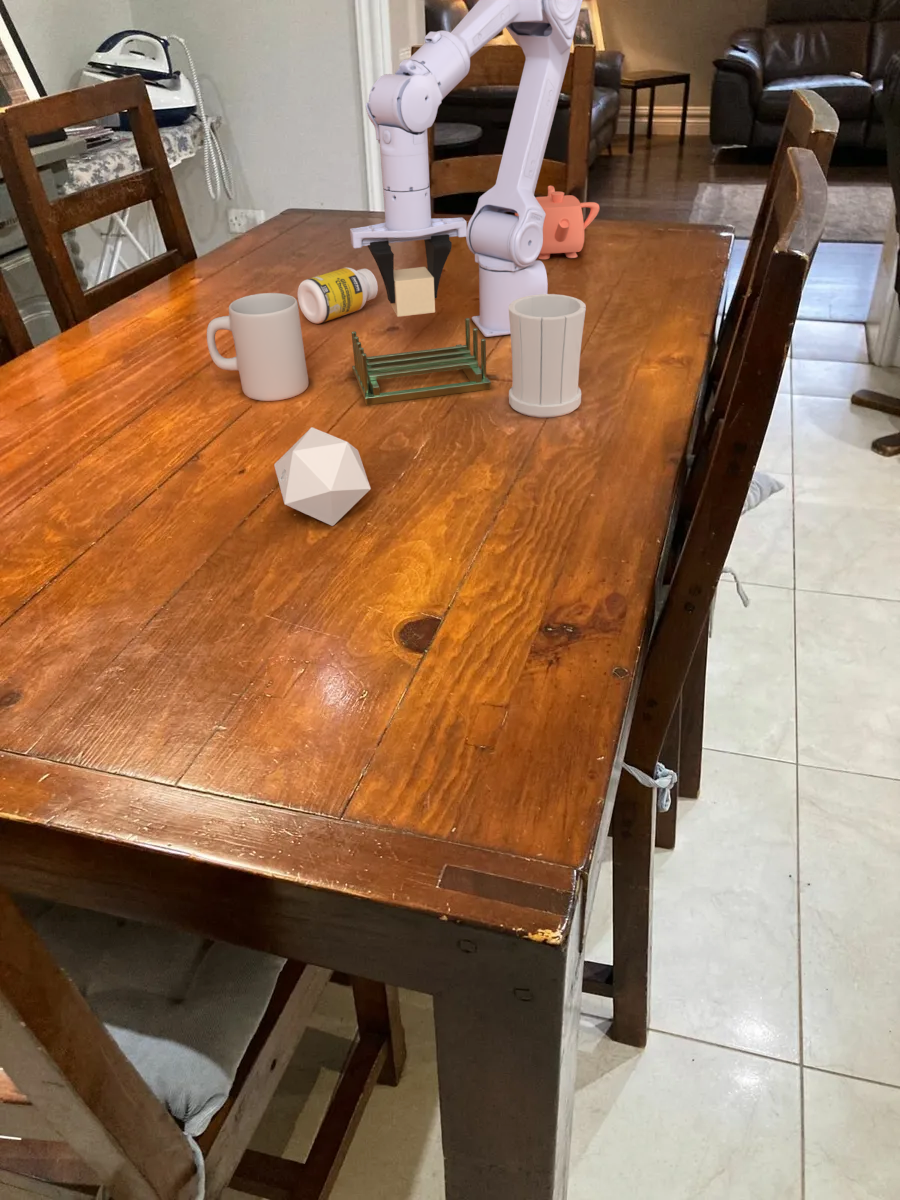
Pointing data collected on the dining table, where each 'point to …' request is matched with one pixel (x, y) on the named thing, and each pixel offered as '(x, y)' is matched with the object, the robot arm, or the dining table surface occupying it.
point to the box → (413, 292)
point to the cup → (546, 354)
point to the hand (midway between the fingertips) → (412, 298)
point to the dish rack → (420, 369)
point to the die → (322, 476)
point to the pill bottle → (336, 293)
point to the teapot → (564, 223)
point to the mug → (264, 346)
